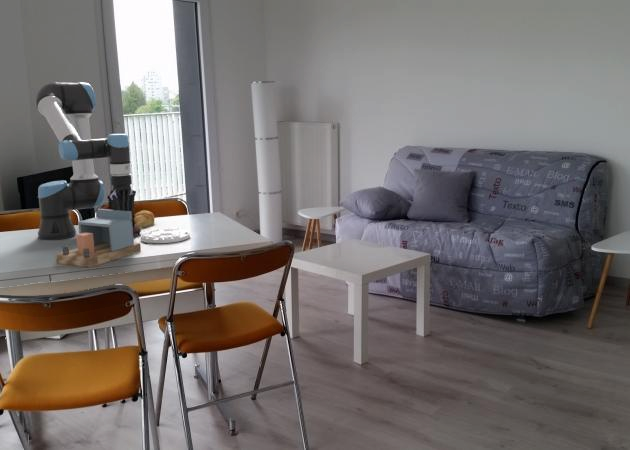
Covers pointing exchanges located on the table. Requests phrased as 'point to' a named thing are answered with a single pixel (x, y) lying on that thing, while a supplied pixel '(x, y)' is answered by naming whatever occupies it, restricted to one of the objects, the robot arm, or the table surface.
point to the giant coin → (164, 235)
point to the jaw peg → (85, 242)
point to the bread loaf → (144, 218)
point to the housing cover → (110, 228)
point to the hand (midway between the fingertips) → (125, 234)
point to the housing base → (94, 254)
